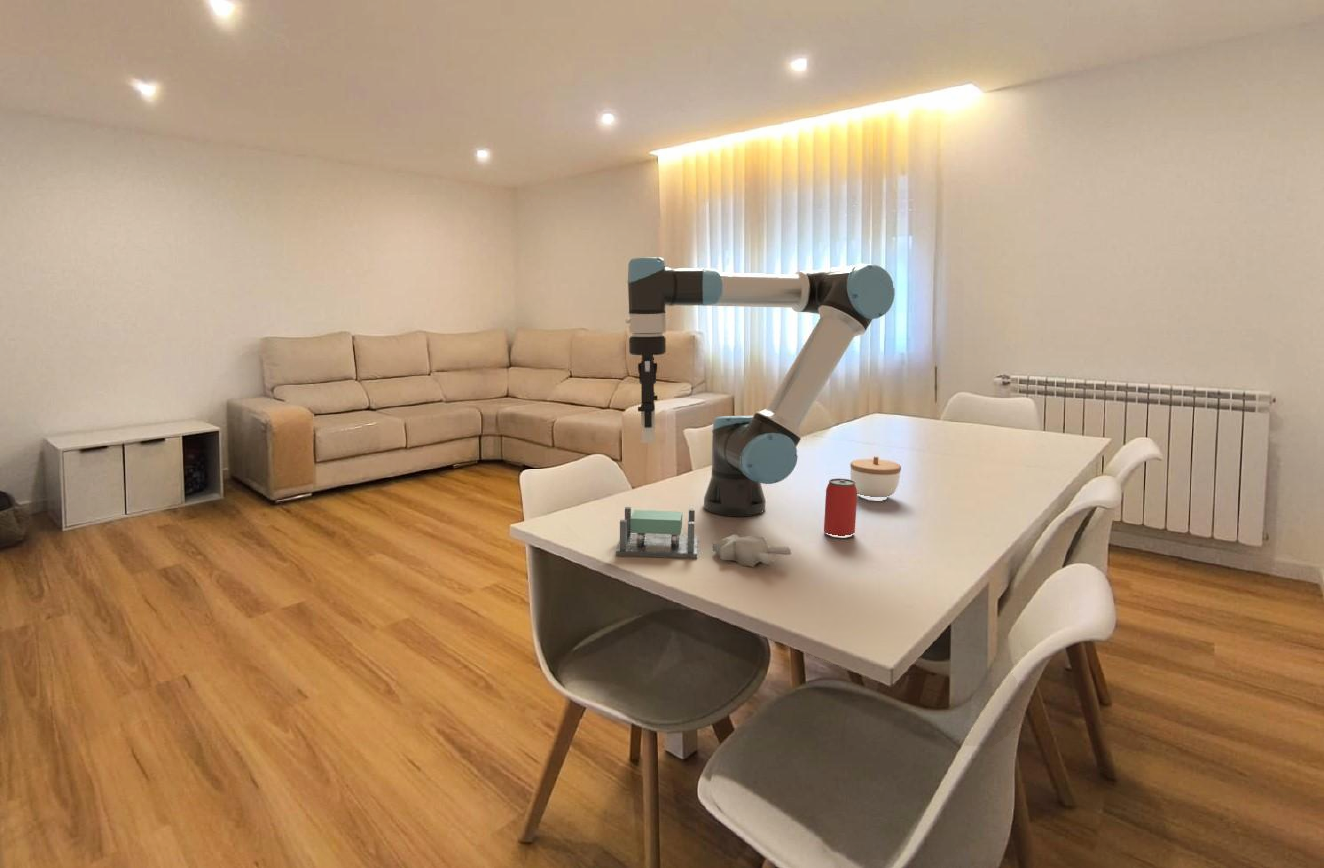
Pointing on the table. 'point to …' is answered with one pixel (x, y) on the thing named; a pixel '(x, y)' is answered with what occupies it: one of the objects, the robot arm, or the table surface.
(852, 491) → the beer can
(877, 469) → the lidded bowl
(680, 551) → the chassis
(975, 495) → the table surface
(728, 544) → the bunny figurine
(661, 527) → the green rectangular block
